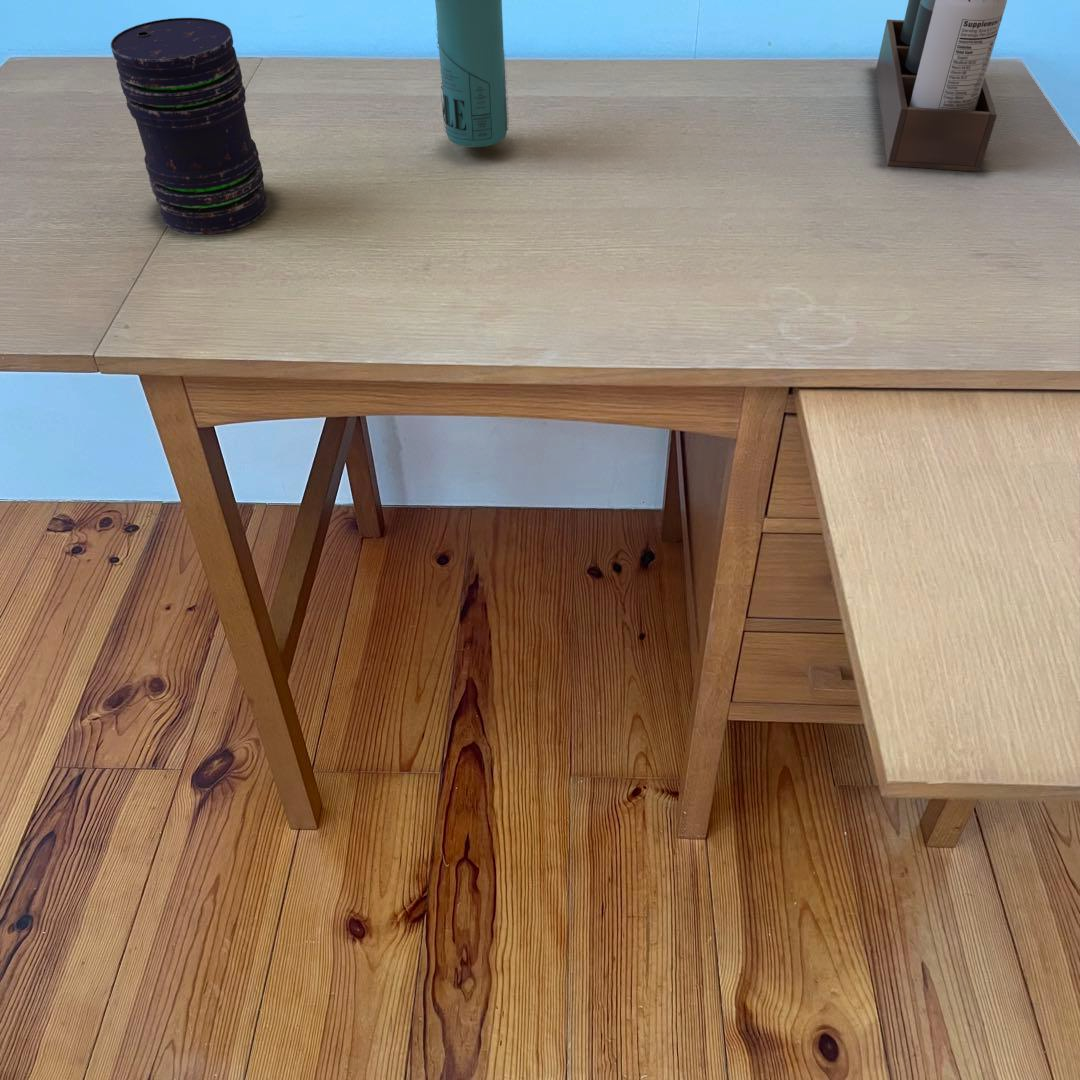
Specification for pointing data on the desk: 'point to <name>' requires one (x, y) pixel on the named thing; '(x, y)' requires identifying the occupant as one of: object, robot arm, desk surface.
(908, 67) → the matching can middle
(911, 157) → the can rack
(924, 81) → the energy drink can
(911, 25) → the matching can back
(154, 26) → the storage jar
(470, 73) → the beverage bottle
